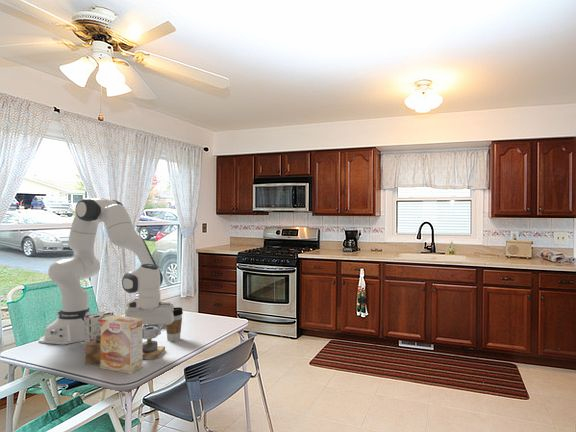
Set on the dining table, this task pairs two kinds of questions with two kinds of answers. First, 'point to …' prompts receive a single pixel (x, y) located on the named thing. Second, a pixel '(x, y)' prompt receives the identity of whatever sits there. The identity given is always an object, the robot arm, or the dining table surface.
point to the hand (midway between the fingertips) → (149, 334)
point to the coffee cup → (175, 326)
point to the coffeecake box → (121, 343)
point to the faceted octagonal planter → (149, 332)
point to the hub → (151, 349)
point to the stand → (93, 352)
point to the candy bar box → (93, 325)
